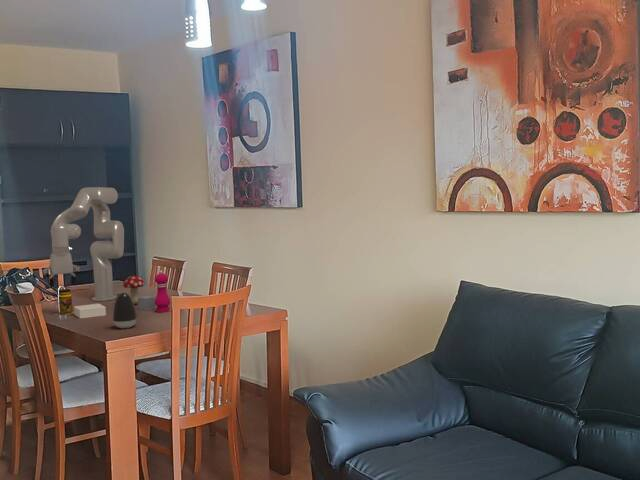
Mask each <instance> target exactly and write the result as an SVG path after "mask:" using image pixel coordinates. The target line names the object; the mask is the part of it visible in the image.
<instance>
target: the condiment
mask: <svg viewBox="0 0 640 480" xmlns="http://www.w3.org/2000/svg"><path fill="white" fill-rule="evenodd" d="M58 292H59V293H58V308H59V310H58V311H59V312H57V313H54V314H52V315H55V316H69V315H74V308H73V296H72V292H71V289H70V288H62V289H59V290H58Z"/></svg>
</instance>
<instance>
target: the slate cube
mask: <svg viewBox="0 0 640 480" xmlns="http://www.w3.org/2000/svg"><path fill="white" fill-rule="evenodd" d="M155 299H156V297H155V296H153V295H144V296H140V297H139V296H138V304H137V308H138V310H139V311H140V310H141V311H149V310H156V308H157V307H156V305H155Z"/></svg>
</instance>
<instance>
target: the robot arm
mask: <svg viewBox="0 0 640 480" xmlns="http://www.w3.org/2000/svg"><path fill="white" fill-rule="evenodd" d="M118 195H119V193H118V192H117V189H115V188H114V187H104V186H103V187H102V186H101V187H99V186H98V187H97V186H96V187H94V186H93V187H92V186H91V187H90V186H89V187H83V188H81V189H80V190H79V191H78V193H77V195H76V197H75V199H74V200H73V203H72V204H71V206H70V207H68V208H66V209H65V210H63V211H62V212H61V213H60V214H59V215H57V216H56V218H55V219H54V220H53V223H52V225H51V228H50V236H51V246H52V247H51V248H52V249H51V250H52V253H51V254H50V257H49V265H48V266H47V267H45V268H44V269H42V273H44V275H45V277H47V278H48V280H49V281H48V282H49V283H48V285H49V286H50V287H51V288H53V287H54V278H53V277H54V276H56V275H65V274H70V275H71V276H70V283H71V285H72V286H74V285H75V284H76V276H77V275H78V274H79V272H80V269H81V267H80V266H78V265H76V264H73V260H72V259H73V258H72V254H71V252H70V251H72V250H73V247H71V246H69V240H75V239H77V238H79V237H80V236H81V234H82V229H81V226H79V225H78V224H76V223H72V222H75V221H79V220H81V219H83V218H85V217H86V216H87V215H88V213H89V211H90V209H91V208H92V210H93V235H94V237H95V238H97V239H111V240H97V241H94V242H92V243H91V245H90V248H89V249H90V250H89V251H90V256H91V259H92V267H93V268H92V269H93V282H94V283H93V285H94V286H93V287H94V296H93V297H92V298H91V300H92V301H95V302H105V301H106V302H107V301H112V300H116V298H117V296H116V295H114V284H113V283H114V282H113V267H112V264H111V262H110V261H109V260H111V259H113V260H114V259H116V260H117V259H121V258H122V257H123V255H124V249H125V228H124V225H123V223H122V221H120V220H111V211H110V208H109V207H108V205H109V204H110V205H112V204H113V205H114V204H115V203H116V202H117V200H118V198H119V196H118ZM74 269H75V271H74ZM48 271H49V273H50V274H49V273H48Z"/></svg>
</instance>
